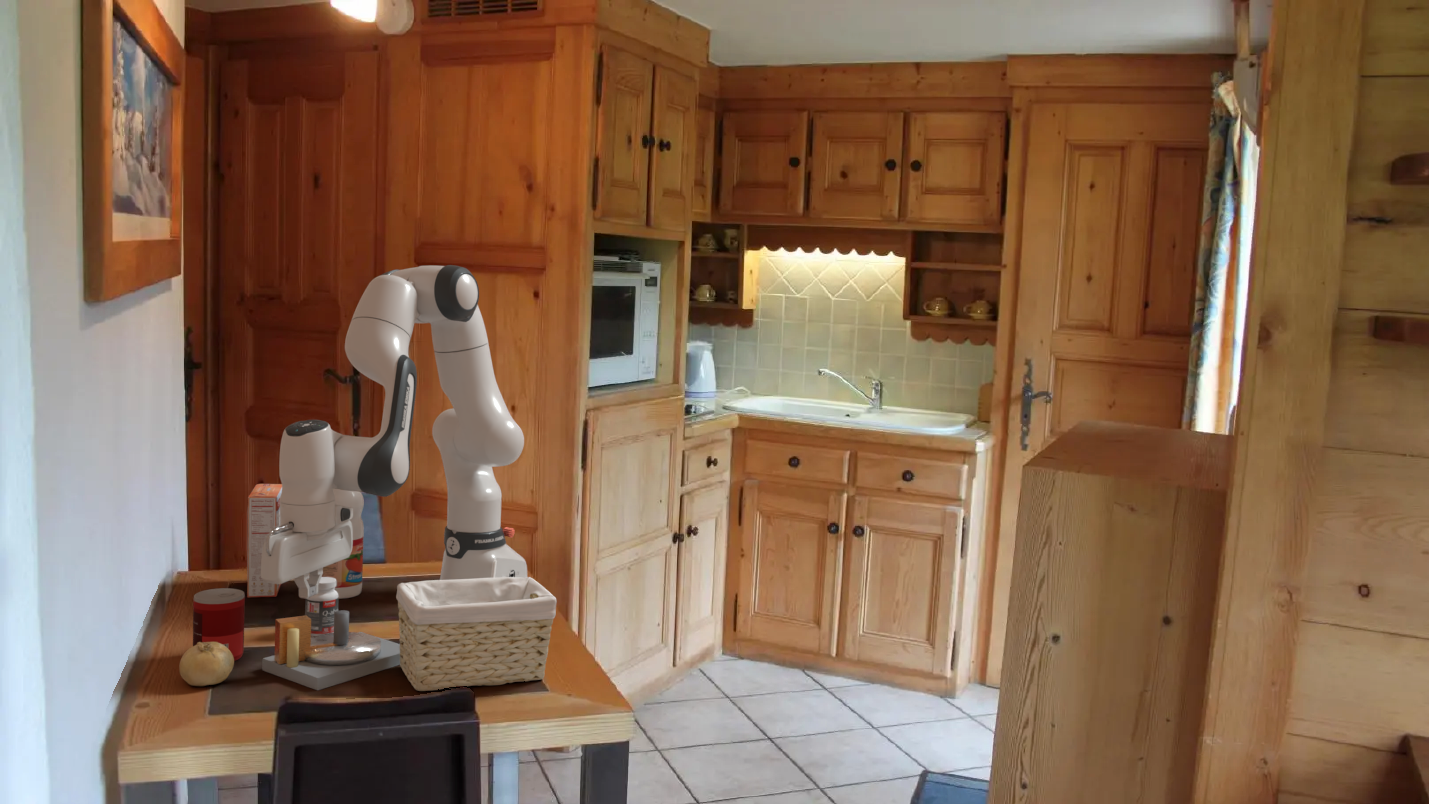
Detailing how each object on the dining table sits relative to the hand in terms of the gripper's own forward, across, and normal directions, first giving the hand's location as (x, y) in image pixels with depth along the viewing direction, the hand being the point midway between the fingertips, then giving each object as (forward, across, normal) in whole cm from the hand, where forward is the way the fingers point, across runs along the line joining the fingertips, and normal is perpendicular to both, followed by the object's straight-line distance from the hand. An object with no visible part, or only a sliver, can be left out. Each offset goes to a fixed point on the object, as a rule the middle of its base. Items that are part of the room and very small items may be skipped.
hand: (308, 596), depth 193 cm
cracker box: (+11, +30, +34) cm, 47 cm away
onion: (+10, -18, +6) cm, 21 cm away
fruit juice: (+12, +34, +19) cm, 41 cm away
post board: (+10, -2, -8) cm, 13 cm away
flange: (+8, -4, -7) cm, 11 cm away
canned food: (+10, -8, +12) cm, 18 cm away
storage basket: (+11, +4, -29) cm, 32 cm away
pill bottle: (+11, +11, +6) cm, 17 cm away
